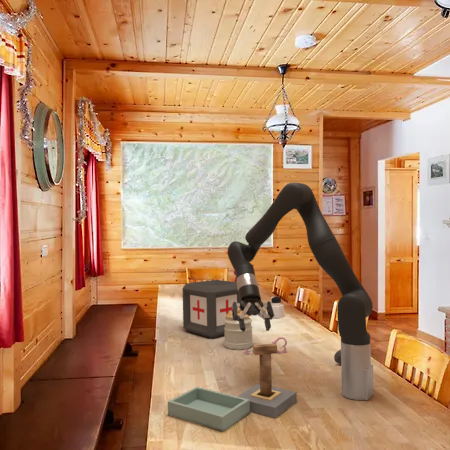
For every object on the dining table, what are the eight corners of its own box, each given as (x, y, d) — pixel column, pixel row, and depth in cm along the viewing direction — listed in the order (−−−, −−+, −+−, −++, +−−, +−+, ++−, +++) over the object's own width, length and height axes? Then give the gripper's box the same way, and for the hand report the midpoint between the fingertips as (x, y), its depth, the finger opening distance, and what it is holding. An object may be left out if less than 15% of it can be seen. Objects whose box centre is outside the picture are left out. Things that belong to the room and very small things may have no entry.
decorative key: (243, 361, 192) (288, 351, 194) (243, 362, 191) (288, 352, 193) (240, 345, 192) (285, 335, 194) (240, 346, 191) (285, 336, 193)
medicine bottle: (284, 316, 265) (283, 296, 265) (279, 319, 259) (278, 298, 259) (273, 315, 269) (273, 295, 269) (268, 317, 263) (267, 297, 263)
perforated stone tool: (337, 367, 173) (336, 349, 173) (331, 363, 178) (330, 345, 178) (372, 364, 176) (372, 346, 176) (365, 360, 181) (365, 343, 181)
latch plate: (296, 401, 141) (296, 390, 141) (275, 418, 130) (275, 406, 130) (258, 392, 149) (258, 382, 149) (235, 407, 138) (234, 396, 138)
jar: (250, 350, 197) (249, 310, 197) (221, 349, 200) (220, 310, 200) (254, 342, 210) (253, 305, 210) (227, 341, 213) (226, 304, 213)
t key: (275, 401, 142) (273, 343, 142) (278, 405, 138) (277, 346, 138) (253, 403, 141) (252, 344, 140) (257, 408, 137) (255, 347, 137)
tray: (250, 413, 134) (249, 399, 133) (222, 431, 122) (222, 417, 122) (197, 398, 145) (196, 386, 145) (167, 414, 133) (167, 401, 133)
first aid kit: (211, 340, 216) (210, 288, 216) (180, 331, 235) (179, 283, 235) (248, 331, 233) (247, 282, 233) (217, 323, 252) (216, 278, 251)
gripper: (231, 283, 157) (238, 325, 147) (269, 283, 160) (279, 324, 150) (226, 294, 162) (233, 336, 152) (264, 294, 166) (273, 334, 156)
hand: (256, 330), depth 151 cm, fingers open, 8 cm apart
